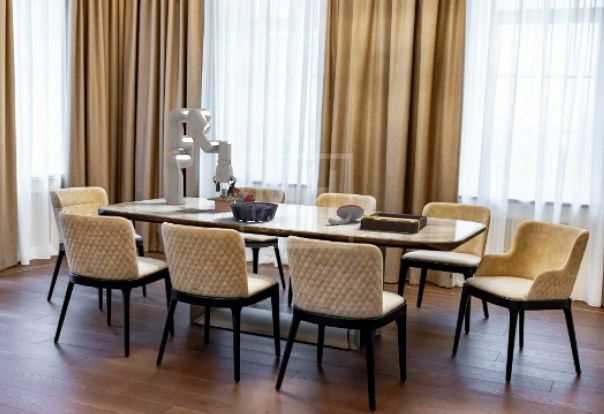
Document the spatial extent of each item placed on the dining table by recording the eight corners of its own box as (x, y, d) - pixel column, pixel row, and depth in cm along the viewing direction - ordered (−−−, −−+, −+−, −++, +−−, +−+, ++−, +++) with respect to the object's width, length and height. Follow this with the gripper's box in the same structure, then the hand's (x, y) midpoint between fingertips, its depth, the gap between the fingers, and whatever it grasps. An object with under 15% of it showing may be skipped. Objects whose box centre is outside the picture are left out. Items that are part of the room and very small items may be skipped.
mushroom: (315, 222, 351) (316, 203, 350) (353, 219, 365) (353, 201, 364) (330, 226, 340) (330, 206, 339) (368, 222, 354) (369, 204, 353)
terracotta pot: (210, 211, 380) (210, 199, 379) (223, 209, 389) (223, 198, 389) (225, 213, 374) (225, 201, 373) (237, 211, 384) (237, 199, 383)
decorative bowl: (220, 222, 356) (219, 204, 354) (258, 213, 375) (257, 196, 373) (251, 228, 338) (250, 209, 336) (289, 219, 358) (288, 201, 356)
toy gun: (245, 220, 400) (256, 198, 397) (215, 203, 402) (225, 181, 399) (248, 218, 405) (258, 197, 402) (217, 202, 407) (227, 181, 404)
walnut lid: (207, 199, 379) (207, 188, 378) (222, 197, 391) (222, 186, 390) (226, 202, 371) (226, 190, 371) (241, 199, 383) (241, 188, 382)
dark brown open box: (417, 221, 321) (358, 216, 332) (416, 234, 322) (357, 229, 333) (428, 214, 347) (373, 210, 358) (427, 226, 348) (372, 222, 359)
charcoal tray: (172, 212, 377) (172, 211, 377) (191, 209, 390) (191, 208, 390) (193, 214, 368) (193, 213, 368) (212, 211, 382) (212, 210, 382)
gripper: (208, 162, 380) (208, 191, 382) (232, 163, 370) (232, 194, 373) (217, 161, 386) (217, 190, 388) (240, 163, 377) (240, 193, 379)
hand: (224, 192), depth 380 cm, fingers open, 9 cm apart
